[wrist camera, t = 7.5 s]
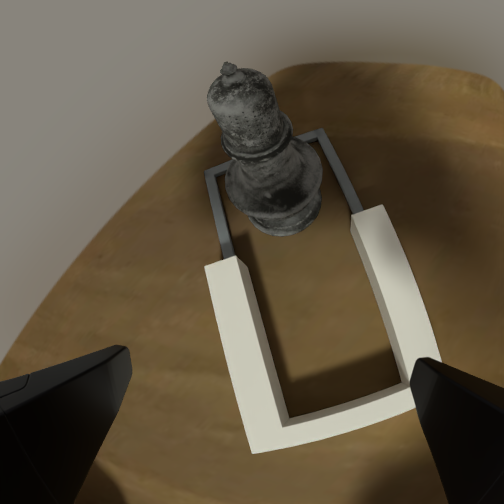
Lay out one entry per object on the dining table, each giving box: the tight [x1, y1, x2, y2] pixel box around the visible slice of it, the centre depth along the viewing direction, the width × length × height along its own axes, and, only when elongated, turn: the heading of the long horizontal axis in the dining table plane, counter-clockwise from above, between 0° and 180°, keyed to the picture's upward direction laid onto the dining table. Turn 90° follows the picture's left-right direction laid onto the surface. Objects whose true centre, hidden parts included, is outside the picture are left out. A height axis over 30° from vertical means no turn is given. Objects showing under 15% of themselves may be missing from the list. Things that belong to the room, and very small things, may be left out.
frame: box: [204, 128, 364, 259], centre depth 21 cm, size 8×10×1 cm
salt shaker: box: [207, 62, 323, 236], centre depth 16 cm, size 6×6×12 cm
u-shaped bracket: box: [204, 204, 442, 454], centre depth 17 cm, size 11×11×2 cm
